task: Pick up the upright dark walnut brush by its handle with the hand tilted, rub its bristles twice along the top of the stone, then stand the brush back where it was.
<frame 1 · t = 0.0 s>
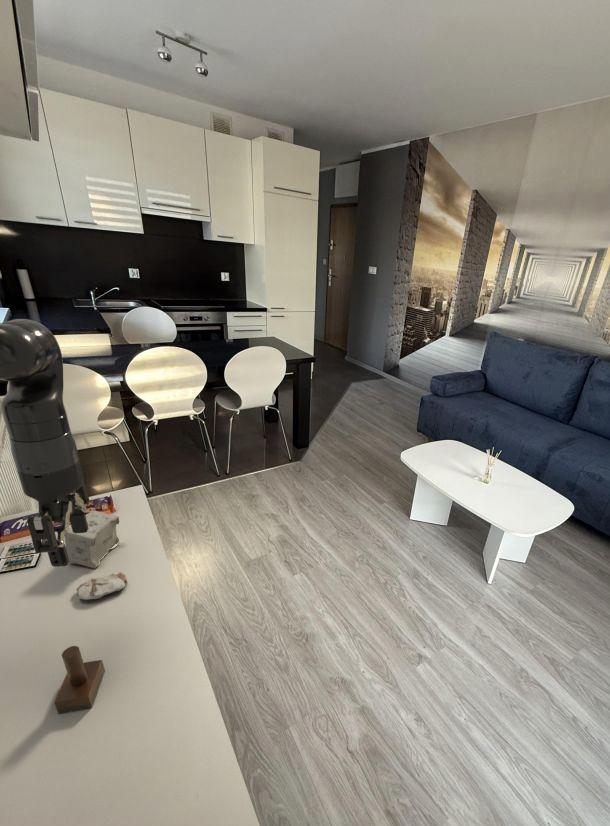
hand: (71, 547, 66), 26 cm above the table, tool pointing down, fingers open, 8 cm apart
incense holder: (98, 555, 101), on the table
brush: (82, 691, 70), on the table
stone: (103, 590, 91), on the table
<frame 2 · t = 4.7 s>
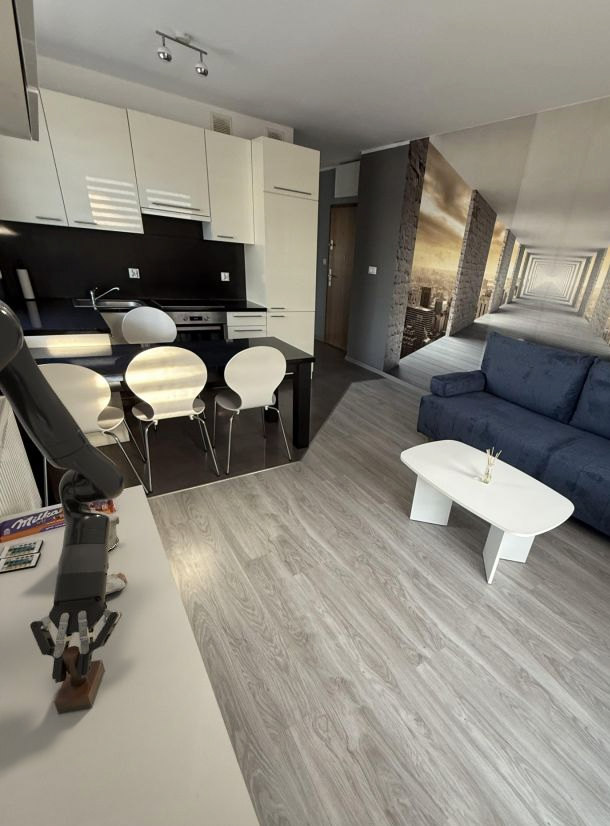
hand: (71, 679, 66), 6 cm above the table, tool tilted 45°, fingers closed on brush, 2 cm apart
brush: (82, 691, 70), on the table, touching gripper
everything else where it was.
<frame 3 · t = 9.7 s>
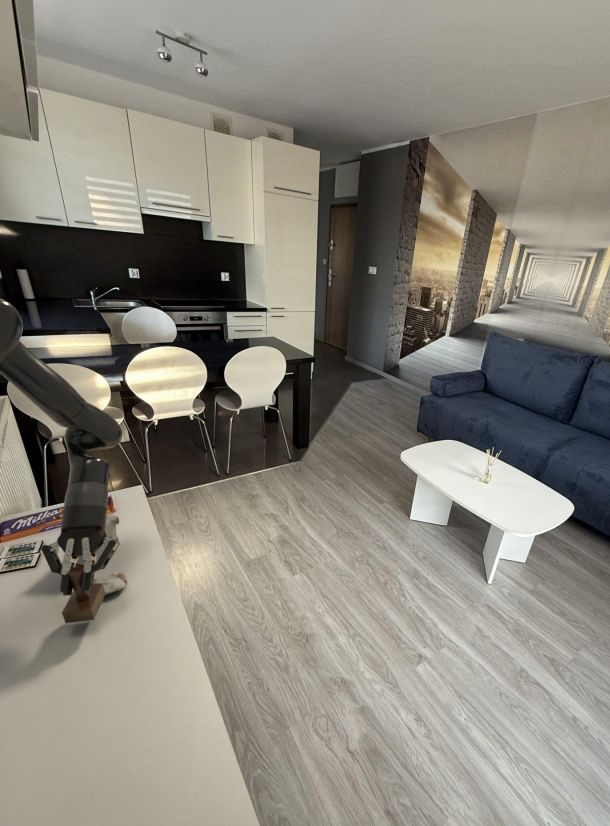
hand: (76, 593, 77), 10 cm above the table, tool tilted 45°, fingers closed on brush, 2 cm apart
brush: (86, 608, 81), point 4 cm above the table, touching gripper
everything else where it was.
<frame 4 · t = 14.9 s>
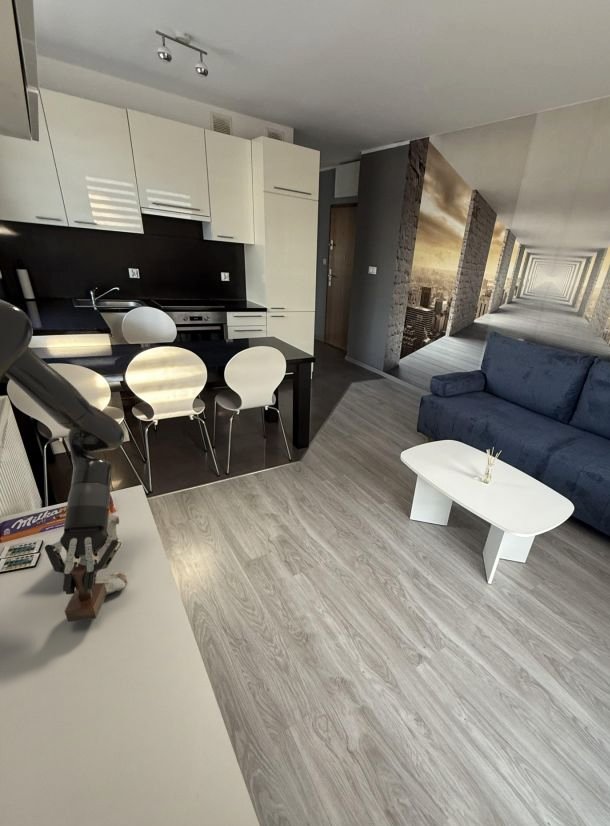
hand: (78, 592, 79), 9 cm above the table, tool tilted 45°, fingers closed on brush, 2 cm apart
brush: (88, 606, 83), point 3 cm above the table, touching gripper
everything else where it was.
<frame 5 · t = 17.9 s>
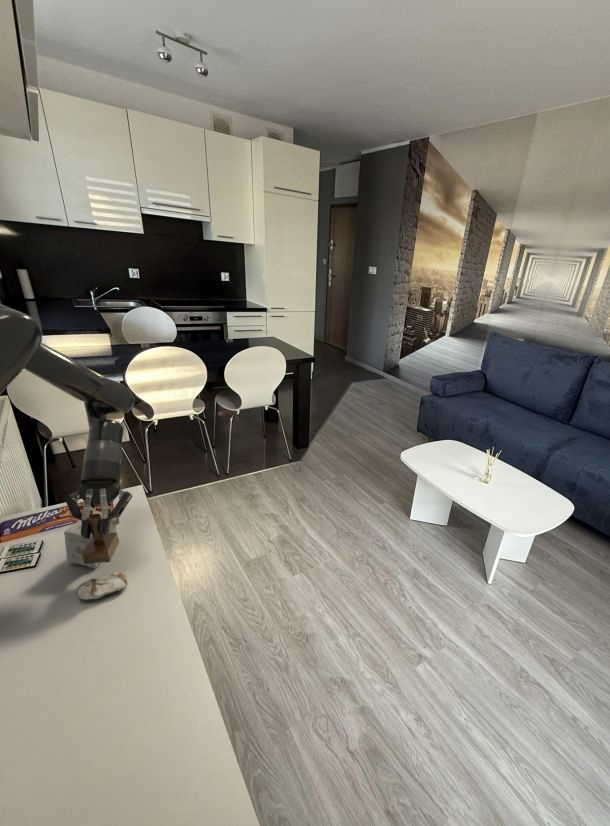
hand: (94, 537, 87), 13 cm above the table, tool tilted 45°, fingers closed on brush, 2 cm apart
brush: (102, 552, 91), point 8 cm above the table, touching gripper
everything else where it was.
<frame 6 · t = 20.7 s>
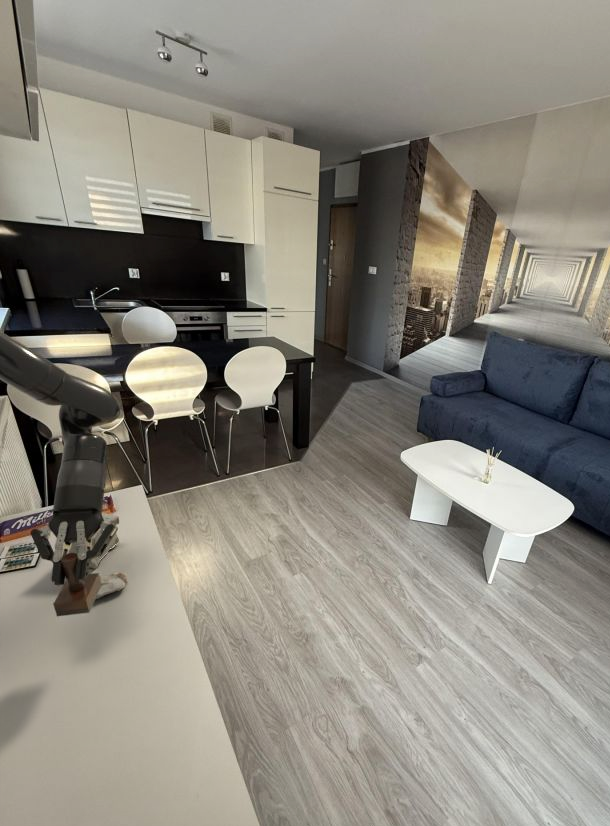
hand: (69, 583, 69), 18 cm above the table, tool tilted 45°, fingers closed on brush, 2 cm apart
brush: (80, 599, 73), point 12 cm above the table, touching gripper
everything else where it was.
when the fingers open (6 cm above the table, at t = 25.5 s): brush stays where it is, on the table.
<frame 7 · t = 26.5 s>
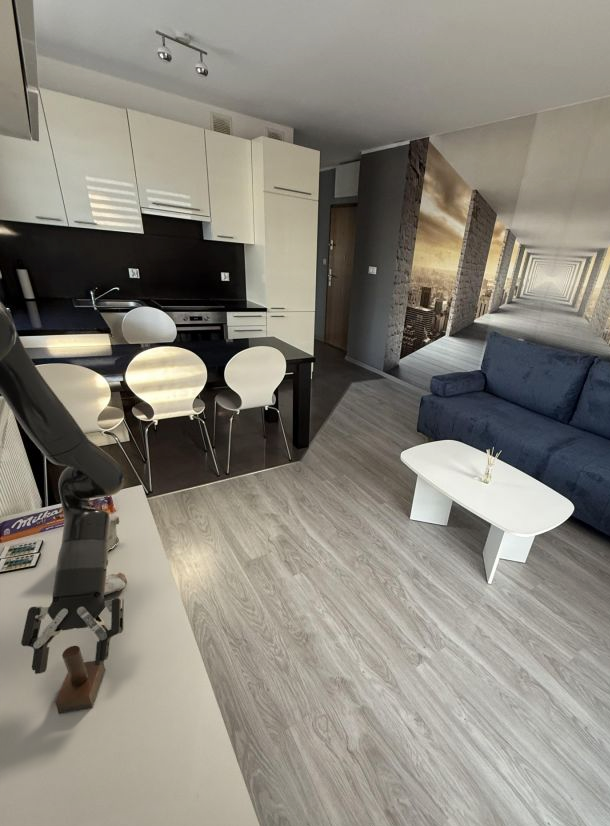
hand: (70, 668, 66), 8 cm above the table, tool tilted 45°, fingers open, 8 cm apart
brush: (83, 690, 70), on the table
everything else where it was.
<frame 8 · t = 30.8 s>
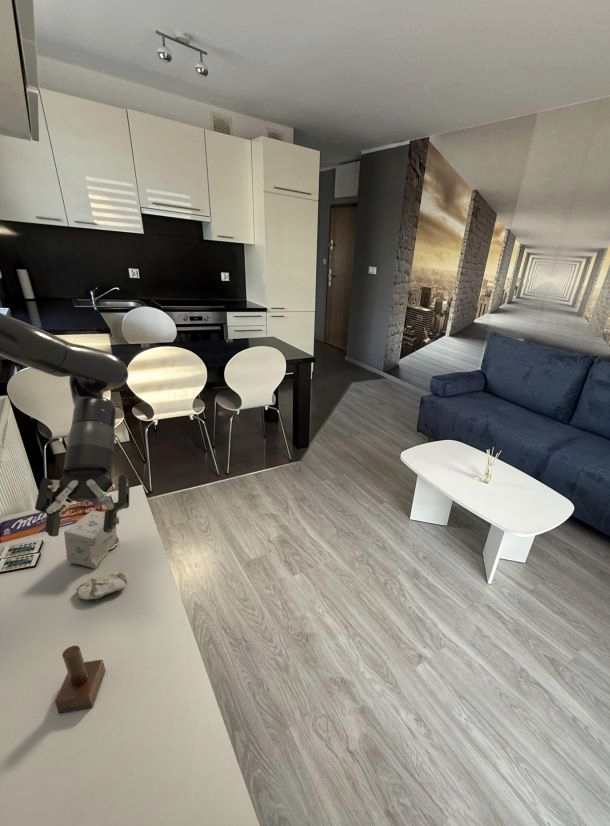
hand: (80, 534, 71), 25 cm above the table, tool tilted 45°, fingers open, 8 cm apart
nothing on the table moved.
at the end: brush inside the target area (0.1 cm from its centre), on the table; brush tilted 0°; stone moved 0.2 cm from its start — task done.
